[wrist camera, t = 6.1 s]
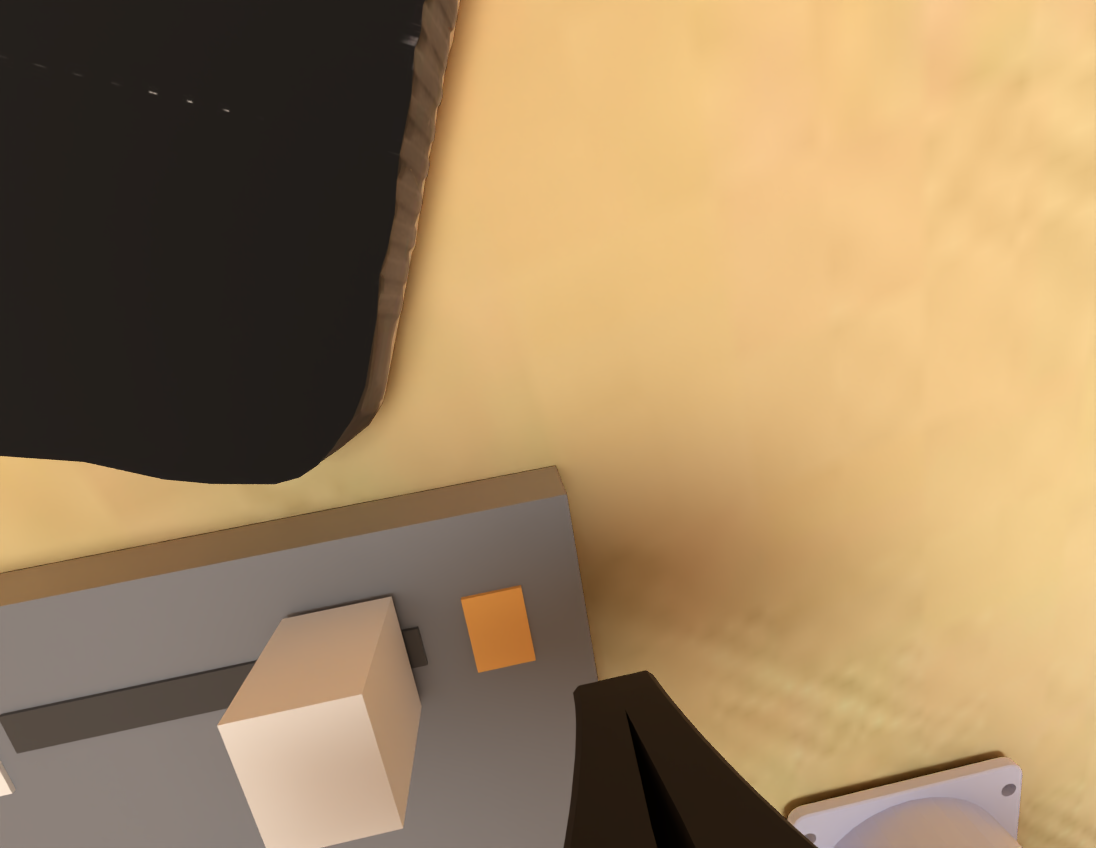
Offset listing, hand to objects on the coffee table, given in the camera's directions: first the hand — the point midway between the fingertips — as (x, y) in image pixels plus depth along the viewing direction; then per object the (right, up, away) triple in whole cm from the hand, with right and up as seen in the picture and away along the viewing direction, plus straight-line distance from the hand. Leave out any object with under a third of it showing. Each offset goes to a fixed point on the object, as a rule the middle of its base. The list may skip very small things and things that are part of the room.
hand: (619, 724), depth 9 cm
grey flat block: (-8, -4, +6) cm, 11 cm away
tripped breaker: (-6, 0, +3) cm, 6 cm away
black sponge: (-8, +13, +2) cm, 15 cm away
